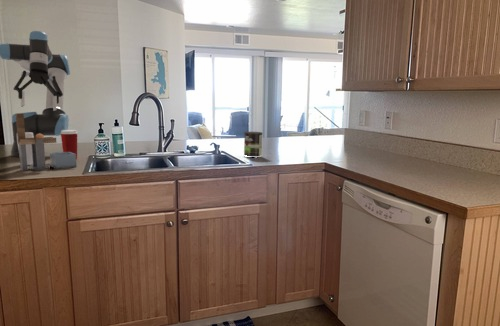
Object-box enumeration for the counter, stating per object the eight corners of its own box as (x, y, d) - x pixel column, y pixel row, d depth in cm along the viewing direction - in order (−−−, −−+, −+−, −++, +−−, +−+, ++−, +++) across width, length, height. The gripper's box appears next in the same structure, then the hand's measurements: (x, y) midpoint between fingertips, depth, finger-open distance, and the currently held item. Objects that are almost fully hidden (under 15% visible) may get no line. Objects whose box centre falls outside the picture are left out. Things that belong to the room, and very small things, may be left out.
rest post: (20, 169, 163) (18, 143, 162) (25, 169, 165) (23, 143, 163) (22, 171, 161) (20, 144, 159) (27, 170, 162) (25, 144, 160)
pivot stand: (29, 168, 168) (26, 138, 166) (43, 166, 172) (41, 137, 170) (34, 171, 161) (32, 139, 159) (49, 169, 166) (47, 139, 163)
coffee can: (252, 158, 208) (252, 133, 206) (240, 156, 215) (240, 132, 213) (265, 157, 215) (266, 132, 212) (253, 155, 222) (253, 131, 220)
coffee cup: (82, 158, 196) (81, 130, 194) (73, 161, 188) (72, 131, 186) (67, 158, 197) (65, 129, 194) (58, 160, 189) (56, 130, 186)
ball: (34, 140, 165) (34, 133, 165) (42, 140, 168) (42, 133, 167) (36, 141, 163) (36, 133, 163) (44, 140, 165) (44, 133, 165)
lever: (17, 143, 162) (14, 113, 160) (52, 141, 172) (50, 113, 169) (20, 145, 158) (17, 113, 156) (56, 142, 168) (54, 113, 165)
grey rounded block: (50, 166, 174) (49, 153, 173) (70, 164, 180) (69, 151, 179) (56, 168, 168) (55, 155, 167) (76, 166, 173) (75, 153, 172)
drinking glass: (20, 163, 178) (18, 132, 176) (36, 163, 181) (34, 132, 178) (17, 166, 172) (14, 133, 169) (34, 165, 174) (31, 133, 172)
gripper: (10, 55, 165) (10, 102, 162) (69, 67, 182) (70, 109, 180) (5, 60, 170) (5, 106, 167) (63, 72, 188) (64, 113, 185)
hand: (39, 108), depth 174 cm, fingers open, 13 cm apart
